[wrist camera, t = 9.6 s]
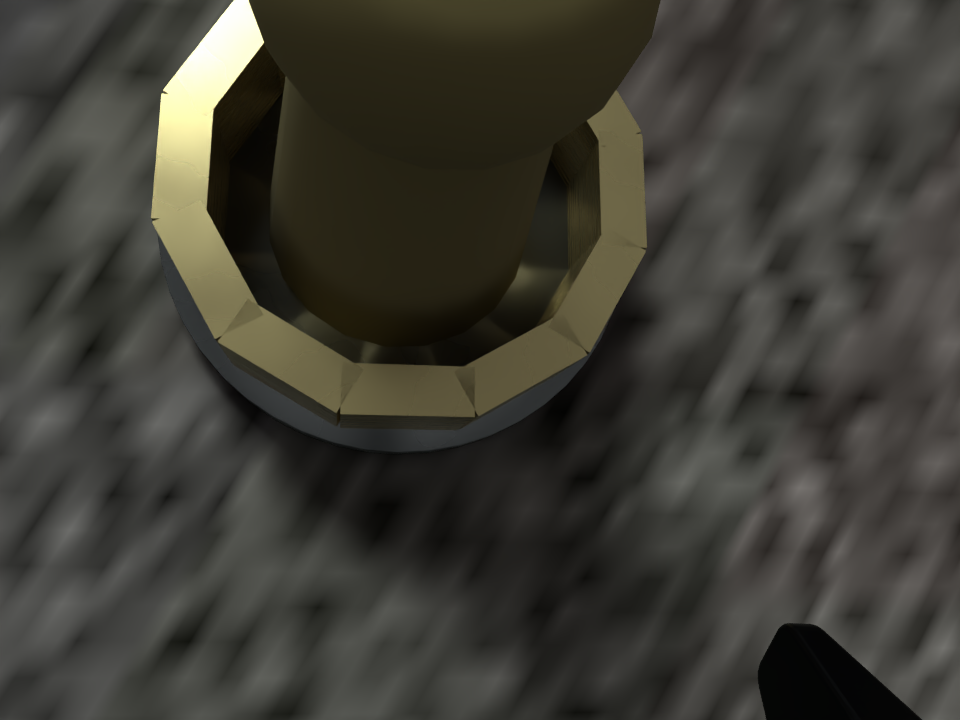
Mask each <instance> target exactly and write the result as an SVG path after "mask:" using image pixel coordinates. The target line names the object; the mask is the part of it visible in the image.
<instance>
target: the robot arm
mask: <svg viewBox="0 0 960 720" xmlns="http://www.w3.org/2000/svg"><path fill="white" fill-rule="evenodd" d="M758 684H759V689H760V694H761V698H762V702H763V707H764V711H765V715H766V720H922V719H921V718H920V717H919V716H917V715H916V714H915V713H914V712H913V711H912V710H911V709H910V708H909V707H908V706H906V705H905V704H904V703H903V702H902V701H901V700H900V699H899V698H898V697H897V696H895V695H894V694H893V693H892V692H891V691H890V690H889V689H888V688H887V687H885V686H884V685H883V684H882V683H881V682H880V681H879V680H878V679H877V678H876V677H874V676H873V675H872V674H871V673H870V672H869V671H868V670H867V669H866V668H865V667H863V666H862V665H861V664H860V663H859V662H858V661H857V660H856V659H855V658H853V657H852V656H851V655H850V654H849V653H848V652H847V651H846V650H845V649H844V648H842V647H841V646H840V645H839V644H838V643H837V642H836V641H835V640H834V639H832V638H831V637H830V636H829V635H828V634H827V633H826V632H825V631H824V630H822V629H821V628H819V627H818V626H816V625H812V624H796V623H787V624H784V625H782V626H781V627H780V628H779V629H778V631H777V632H776V634H775V636H774V638H773V640H772V642H771V644H770V645H769V647H768V649H767V651H766V653H765V655H764V657H763V659H762V660H761V662H760V665H759V670H758Z"/></svg>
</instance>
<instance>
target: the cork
mask: <svg viewBox="0 0 960 720" xmlns="http://www.w3.org/2000/svg"><path fill="white" fill-rule="evenodd" d="M248 1H249V3H250V6H251V9H252V11H253V14H254V17H255V20H256V22H257V25H258V28H259V30H260V33H261V36H262V38H263V41H264V44H265V46H266V48H267V50H268V51H269V53H270V54H271V56H272V57H273V59H274V60H275V62H276V63H277V65H278V66H279V68H280V69H281V71H282V72H283V73H284V74H285V76H286V77H285V85H284V92H283V100H282V108H281V115H280V123H279V130H278V138H277V146H276V153H275V161H274V169H273V176H272V184H271V191H270V199H269V235H270V244H271V247H272V249H273V252H274V255H275V258H276V260H277V263H278V266H279V269H280V271H281V274H282V277H283V279H284V281H285V282H286V283H287V284H288V286H289V287H290V288H291V289H292V291H293V292H294V293H295V295H296V296H297V297H298V298H299V300H300V301H301V302H302V303H303V305H304V306H305V307H306V308H307V310H308V311H309V312H310V313H312V314H313V315H315V316H316V317H318V318H319V319H321V320H322V321H324V322H325V323H327V324H328V325H330V326H331V327H333V328H334V329H336V330H337V331H339V332H340V333H342V334H343V335H346V336H349V337H353V338H356V339H359V340H363V341H366V342H370V343H373V344H377V345H380V346H384V347H400V346H427V345H430V344H433V343H436V342H439V341H442V340H445V339H448V338H450V337H453V336H456V335H459V334H462V333H464V332H466V331H467V330H468V329H470V328H471V327H472V326H474V325H475V324H476V323H477V322H479V321H480V320H481V319H483V318H484V317H485V316H487V315H488V314H489V313H491V312H492V311H493V310H494V309H495V308H496V307H497V305H498V304H499V302H500V301H501V299H502V298H503V296H504V295H505V293H506V292H507V290H508V289H509V287H510V286H511V284H512V283H513V281H514V280H515V278H516V276H517V272H518V268H519V265H520V261H521V258H522V254H523V251H524V247H525V244H526V240H527V237H528V233H529V230H530V226H531V223H532V219H533V216H534V212H535V209H536V205H537V202H538V198H539V195H540V191H541V188H542V184H543V181H544V177H545V173H546V170H547V166H548V163H549V159H550V156H551V152H552V149H553V145H554V144H555V143H556V142H558V141H559V140H560V139H562V138H563V137H565V136H566V135H567V134H569V133H570V132H572V131H573V130H574V129H576V128H577V127H579V126H580V125H581V124H583V123H584V122H586V121H587V120H588V119H590V118H591V117H593V116H594V115H595V114H597V113H598V112H599V111H601V110H602V109H603V108H604V107H605V105H606V104H607V102H608V101H609V99H610V98H611V97H612V95H613V94H614V92H615V91H616V89H617V88H618V86H619V85H620V83H621V82H622V80H623V79H624V77H625V76H626V74H627V73H628V71H629V70H630V69H631V67H632V66H633V64H634V63H635V61H636V60H637V58H638V57H639V55H640V54H641V52H642V51H643V49H644V48H645V46H646V45H647V43H648V42H649V40H650V39H651V37H652V33H653V29H654V25H655V21H656V17H657V12H658V8H659V4H660V0H248Z"/></svg>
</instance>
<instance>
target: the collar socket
mask: <svg viewBox="0 0 960 720" xmlns="http://www.w3.org/2000/svg"><path fill="white" fill-rule="evenodd" d="M285 77H286V76H285V74H284V73H283V72H282V71H281V69H280V68H279V66H278V65H277V63H276V62H275V60H274V59H273V57H272V56H271V54H270V53H269V51H268V50H267V48H266V46H265V44H264V41H263V38H262V36H261V33H260V30H259V28H258V25H257V22H256V20H255V17H254V14H253V11H252V9H251V6H250V3H249V1H248V0H234V1H233V2H232V4H231V5H230V6H229V8H228V9H227V10H226V11H225V13H224V14H223V15H222V16H221V18H220V19H219V20H218V21H217V23H216V24H215V25H214V26H213V28H212V29H211V30H210V32H209V33H208V34H207V35H206V37H205V38H204V39H203V40H202V42H201V43H200V44H199V45H198V47H197V48H196V49H195V50H194V52H193V53H192V54H191V56H190V57H189V58H188V59H187V61H186V62H185V63H184V64H183V66H182V67H181V68H180V69H179V71H178V72H177V73H176V74H175V76H174V77H173V78H172V80H171V81H170V82H169V83H168V85H167V86H166V87H165V88H164V90H163V91H164V94H162V96H161V107H160V119H159V131H158V143H157V155H156V166H155V178H154V190H153V202H152V214H151V219H152V220H153V221H152V223H153V225H154V226H155V228H156V230H157V233H158V241H159V248H160V255H161V263H162V267H163V270H164V273H165V277H166V280H167V284H168V287H169V291H170V294H171V296H172V299H173V301H174V303H175V305H176V308H177V310H178V312H179V314H180V316H181V319H182V321H183V323H184V325H185V326H186V328H187V329H188V331H189V333H190V334H191V336H192V337H193V339H194V341H195V342H196V344H197V345H198V347H199V349H200V350H201V351H202V352H203V354H204V355H205V356H206V357H207V358H208V360H209V361H210V362H211V363H212V364H213V366H214V367H215V368H216V369H217V370H218V372H219V373H220V374H221V375H222V376H223V378H224V379H225V380H226V381H227V382H228V383H229V384H230V385H231V386H232V387H234V388H235V389H236V390H237V391H238V392H239V393H240V394H241V395H242V396H243V397H245V398H246V399H247V400H248V401H249V402H250V403H252V404H253V405H254V406H256V407H257V408H259V409H260V410H262V411H263V412H265V413H266V414H268V415H269V416H270V417H272V418H273V419H275V420H276V421H278V422H280V423H282V424H284V425H286V426H288V427H290V428H292V429H294V430H296V431H298V432H300V433H302V434H304V435H306V436H309V437H312V438H315V439H318V440H320V441H323V442H326V443H329V444H332V445H335V446H339V447H344V448H349V449H353V450H358V451H363V452H372V453H384V454H415V453H429V452H434V451H440V450H445V449H451V448H456V447H459V446H463V445H466V444H469V443H472V442H475V441H478V440H481V439H484V438H487V437H489V436H491V435H493V434H495V433H497V432H499V431H501V430H503V429H505V428H507V427H509V426H511V425H513V424H515V423H517V422H519V421H521V420H522V419H524V418H525V417H527V416H528V415H530V414H531V413H533V412H534V411H536V410H537V409H539V408H540V407H542V406H543V405H545V404H546V403H547V402H548V401H549V400H550V399H551V398H552V397H554V396H555V395H556V394H557V393H558V392H559V391H560V390H562V389H563V388H564V387H565V386H566V385H567V384H568V383H569V382H570V380H571V379H572V378H573V377H574V376H575V375H576V374H577V372H578V371H579V370H580V369H581V368H582V367H583V365H584V364H585V363H586V361H587V360H588V358H589V357H590V355H591V354H592V352H593V351H594V349H595V348H596V346H597V344H598V343H599V341H600V340H601V338H602V336H603V334H604V331H605V329H606V327H607V325H608V323H609V321H610V319H611V316H612V314H613V311H614V308H615V306H616V305H617V303H618V301H619V299H620V297H621V296H622V294H623V292H624V290H625V288H626V287H627V285H628V283H629V281H630V279H631V277H632V276H633V274H634V272H635V270H636V268H637V267H638V265H639V263H640V261H641V259H642V258H643V256H644V254H645V252H646V251H645V249H646V248H647V238H646V214H645V189H644V165H643V140H642V134H639V133H640V132H641V130H640V128H639V127H638V125H637V123H636V122H635V120H634V118H633V117H632V115H631V113H630V112H629V110H628V108H627V107H626V105H625V103H624V102H623V100H622V98H621V97H620V95H619V93H618V92H617V90H616V91H615V92H614V94H613V95H612V97H611V98H610V99H609V101H608V102H607V104H606V105H605V107H604V108H603V109H602V110H601V111H599V112H598V113H597V114H595V115H594V116H593V117H591V118H590V119H588V120H587V121H586V122H584V123H583V124H581V125H580V126H579V127H577V128H576V129H574V130H573V131H572V132H570V133H569V134H567V135H566V136H565V137H563V138H562V139H560V140H559V141H558V142H556V143H555V144H554V145H553V149H552V152H551V156H550V159H549V163H548V166H547V170H546V173H545V177H544V181H543V184H542V188H541V191H540V195H539V198H538V202H537V205H536V209H535V212H534V216H533V219H532V223H531V226H530V230H529V233H528V237H527V240H526V244H525V247H524V251H523V254H522V258H521V261H520V265H519V268H518V272H517V276H516V278H515V280H514V281H513V283H512V284H511V286H510V287H509V289H508V290H507V292H506V293H505V295H504V296H503V298H502V299H501V301H500V302H499V304H498V305H497V307H496V308H495V309H494V310H493V311H492V312H491V313H489V314H488V315H487V316H485V317H484V318H483V319H481V320H480V321H479V322H477V323H476V324H475V325H474V326H472V327H471V328H470V329H468V330H467V331H466V332H464V333H462V334H459V335H456V336H453V337H450V338H448V339H445V340H442V341H439V342H436V343H433V344H430V345H427V346H400V347H384V346H380V345H377V344H373V343H370V342H366V341H363V340H359V339H356V338H353V337H349V336H346V335H343V334H342V333H340V332H339V331H337V330H336V329H334V328H333V327H331V326H330V325H328V324H327V323H325V322H324V321H322V320H321V319H319V318H318V317H316V316H315V315H313V314H312V313H310V312H309V311H308V310H307V308H306V307H305V306H304V305H303V303H302V302H301V301H300V300H299V298H298V297H297V296H296V295H295V293H294V292H293V291H292V289H291V288H290V287H289V286H288V284H287V283H286V282H285V281H284V279H283V277H282V274H281V271H280V269H279V266H278V263H277V260H276V258H275V255H274V252H273V249H272V247H271V244H270V235H269V199H270V191H271V184H272V176H273V169H274V161H275V153H276V146H277V138H278V130H279V123H280V115H281V108H282V100H283V92H284V85H285Z"/></svg>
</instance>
